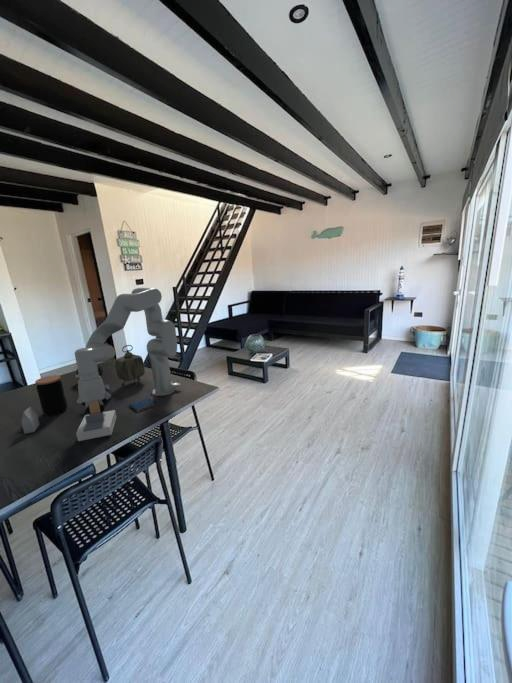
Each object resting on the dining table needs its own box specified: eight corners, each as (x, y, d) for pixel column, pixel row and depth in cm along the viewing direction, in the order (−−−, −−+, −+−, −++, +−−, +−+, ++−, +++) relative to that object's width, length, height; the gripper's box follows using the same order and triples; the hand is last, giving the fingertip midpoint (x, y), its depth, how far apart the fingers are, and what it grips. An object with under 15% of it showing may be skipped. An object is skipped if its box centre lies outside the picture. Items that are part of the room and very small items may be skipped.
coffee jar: (72, 407, 155) (65, 375, 150) (53, 417, 145) (45, 384, 140) (58, 405, 158) (50, 374, 154) (38, 415, 149) (29, 382, 144)
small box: (99, 407, 154) (95, 388, 151) (88, 406, 155) (84, 388, 152) (112, 398, 164) (109, 380, 161) (102, 397, 165) (99, 380, 162)
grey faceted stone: (39, 424, 139) (34, 405, 137) (34, 431, 133) (28, 412, 130) (30, 426, 138) (25, 407, 135) (24, 433, 132) (18, 413, 129)
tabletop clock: (139, 378, 191) (133, 341, 185) (148, 381, 186) (142, 343, 180) (118, 386, 180) (111, 347, 174) (127, 389, 175) (119, 349, 168)
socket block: (116, 417, 142) (115, 409, 141) (111, 434, 127) (109, 426, 126) (86, 422, 138) (85, 415, 137) (78, 441, 124) (76, 432, 123)
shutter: (104, 420, 131) (103, 412, 130) (101, 428, 125) (100, 420, 124) (87, 423, 129) (85, 415, 128) (83, 431, 123) (81, 423, 122)
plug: (101, 415, 133) (97, 395, 130) (91, 417, 132) (87, 396, 129) (102, 411, 136) (98, 391, 134) (93, 413, 135) (89, 393, 133)
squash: (90, 367, 200) (76, 356, 188) (110, 368, 198) (98, 357, 186) (81, 386, 193) (67, 376, 180) (102, 388, 191) (89, 377, 178)
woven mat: (156, 406, 153) (156, 402, 152) (136, 413, 146) (136, 410, 145) (147, 400, 160) (147, 396, 160) (128, 407, 153) (127, 403, 152)
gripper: (65, 381, 123) (74, 420, 128) (108, 375, 128) (115, 413, 133) (70, 375, 130) (78, 412, 135) (111, 370, 135) (117, 406, 140)
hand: (96, 412), depth 134 cm, fingers closed on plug, 4 cm apart
